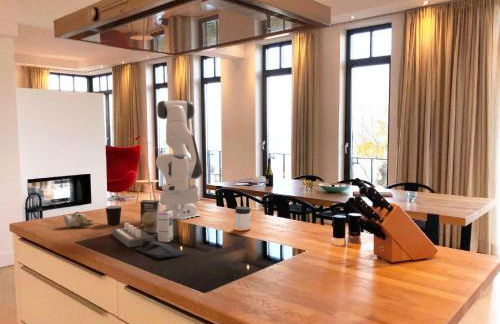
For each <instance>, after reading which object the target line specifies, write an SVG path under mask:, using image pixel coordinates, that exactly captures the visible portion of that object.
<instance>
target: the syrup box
mask: <svg viewBox="0 0 500 324" xmlns="http://www.w3.org/2000/svg"><path fill="white" fill-rule="evenodd" d="M157 214H158V232H157V241H158V242H162V243H169V242H171V241H172V240H174V219H173V210H165V209H162V210H159V212H157Z"/></svg>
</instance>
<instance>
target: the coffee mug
mask: <svg viewBox="0 0 500 324" xmlns="http://www.w3.org/2000/svg"><path fill="white" fill-rule="evenodd" d="M122 208H123V207H122V205H107V206H105V213H106V221H107V226H109V225H112V226H111V227H116V225H117V226H119V224H121V216H122Z"/></svg>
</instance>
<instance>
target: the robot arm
mask: <svg viewBox="0 0 500 324" xmlns="http://www.w3.org/2000/svg"><path fill="white" fill-rule="evenodd" d="M155 110H156V111H155V112H156V114H157V117H158V118H159V119H161V120H166V123H165V124H166V125H165V141H166V142H165V144H166V145H167V147H170V148H171V150H172V151H173V153H167V152H166V153H162V154H161V153H160V154H159V155H158V156H157V157H156V160H155V164H156V168H157V169H158V170H159V171H160V172H161V174H162V175H163V177H164V180H165V184H163V185H162V187H161V189H162V191H161V192H160V196H159V197H160V198H159V204H160V205H161V206H165V209H164V210H173V220H181V221H182V220H188V219H187V218H189V219H192V218H191V217H194V218H196V217H195V216H199V215H200V216H201V214H200V213H199V212H198V210H197V207H196V205H195V204H197V203H198V202H199V188H198V186H196V185H189V179H190V180H191V179H194V180H197V179H199V178H200V177H201V176H202V175H203V165H202V162H201V158H200V156H199V152H198V147H197V142H196V138H195V136H194V134H193V132H192V131H190V130H189V128H188V120H190V119H192V118H193V117H194V115H195V113H196V112H195V111H196V108H195V105H194V103H193V101H189V100H177V99H176V100H160V101H159V102H157V105H156V108H155ZM188 149H189V150H188ZM198 214H199V215H198Z"/></svg>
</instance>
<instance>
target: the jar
mask: <svg viewBox="0 0 500 324" xmlns="http://www.w3.org/2000/svg"><path fill="white" fill-rule="evenodd" d="M251 219H252V212H251V207H249V206H236V207H235V210H234V218H233V220H234V222H233V223H234V224H233V225H234V227H235V228H239V229H244V228H249V227H250V226H251V227H252V223H251V221H252V220H251Z"/></svg>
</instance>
